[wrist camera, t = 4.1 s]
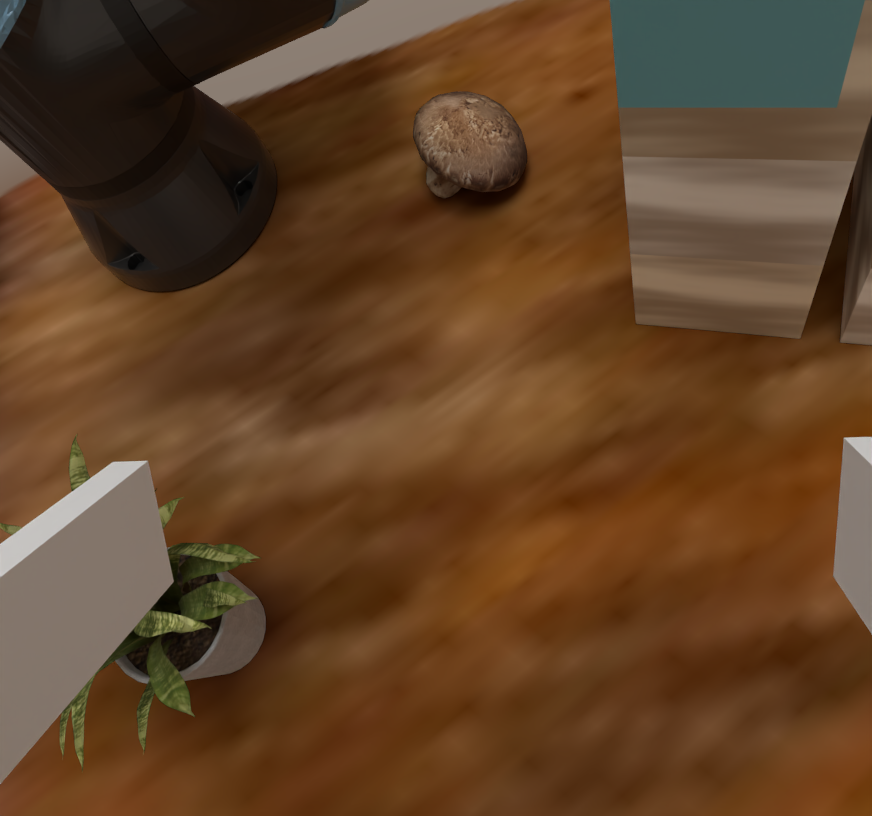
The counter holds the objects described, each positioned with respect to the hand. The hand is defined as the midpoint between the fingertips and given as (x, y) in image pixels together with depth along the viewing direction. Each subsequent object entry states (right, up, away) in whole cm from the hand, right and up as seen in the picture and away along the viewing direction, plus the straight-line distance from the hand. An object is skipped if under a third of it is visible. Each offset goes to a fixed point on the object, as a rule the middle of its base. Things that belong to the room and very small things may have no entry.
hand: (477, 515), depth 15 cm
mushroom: (+2, +18, +40) cm, 44 cm away
